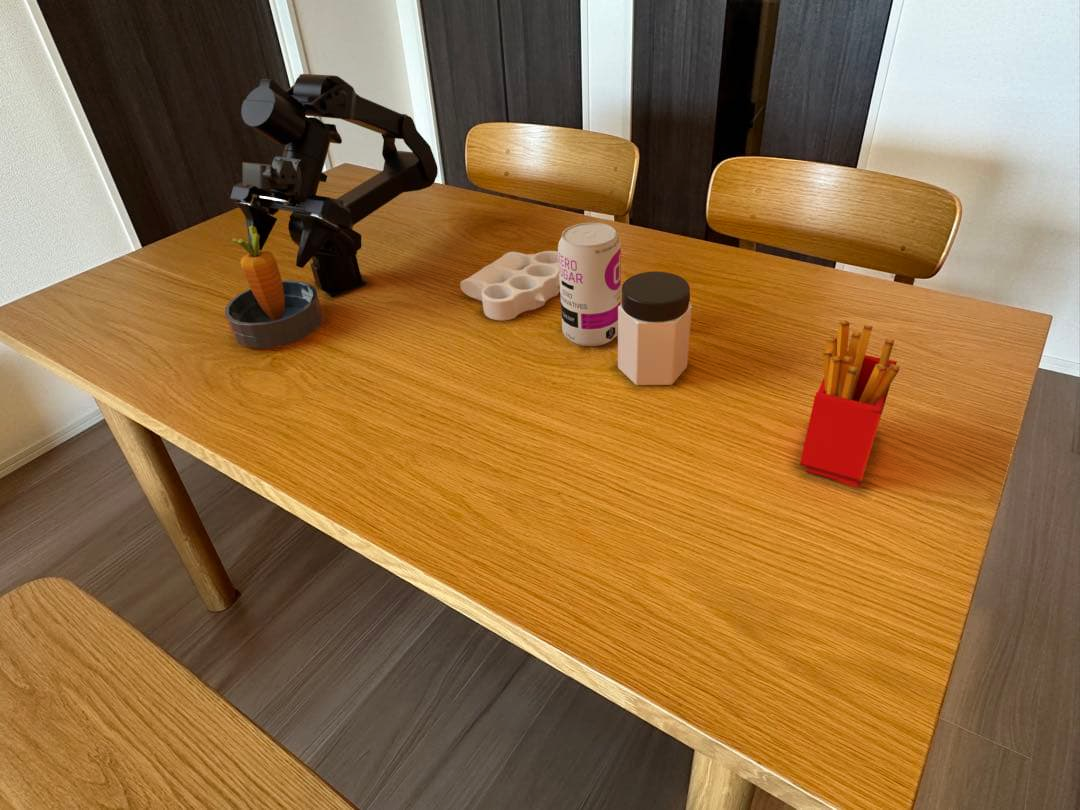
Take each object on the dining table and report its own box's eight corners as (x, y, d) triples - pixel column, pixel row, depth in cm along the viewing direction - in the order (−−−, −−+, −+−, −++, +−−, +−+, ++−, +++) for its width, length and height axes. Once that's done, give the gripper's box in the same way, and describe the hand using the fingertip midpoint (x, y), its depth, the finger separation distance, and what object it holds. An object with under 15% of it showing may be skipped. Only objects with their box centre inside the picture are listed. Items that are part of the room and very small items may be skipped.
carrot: (274, 335, 102) (241, 240, 93) (255, 325, 105) (221, 232, 96) (302, 320, 105) (272, 227, 96) (283, 311, 108) (252, 220, 99)
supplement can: (628, 323, 100) (629, 224, 91) (608, 353, 94) (607, 251, 85) (576, 313, 103) (572, 217, 94) (553, 342, 97) (547, 243, 88)
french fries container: (792, 469, 74) (815, 361, 66) (812, 420, 80) (835, 316, 72) (862, 490, 71) (896, 379, 63) (877, 437, 77) (910, 330, 69)
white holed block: (518, 258, 118) (590, 278, 111) (447, 304, 108) (521, 330, 100) (517, 240, 116) (589, 259, 109) (444, 285, 105) (519, 309, 98)
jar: (698, 375, 89) (706, 292, 81) (644, 395, 86) (647, 311, 79) (659, 343, 95) (663, 263, 88) (608, 360, 93) (607, 280, 85)
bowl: (303, 297, 113) (296, 271, 110) (338, 327, 104) (331, 301, 101) (223, 326, 107) (212, 301, 104) (252, 362, 98) (242, 335, 95)
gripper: (215, 128, 98) (185, 234, 98) (314, 140, 91) (283, 255, 91) (272, 161, 108) (246, 258, 108) (366, 175, 101) (338, 278, 101)
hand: (275, 261), depth 102 cm, fingers open, 9 cm apart
